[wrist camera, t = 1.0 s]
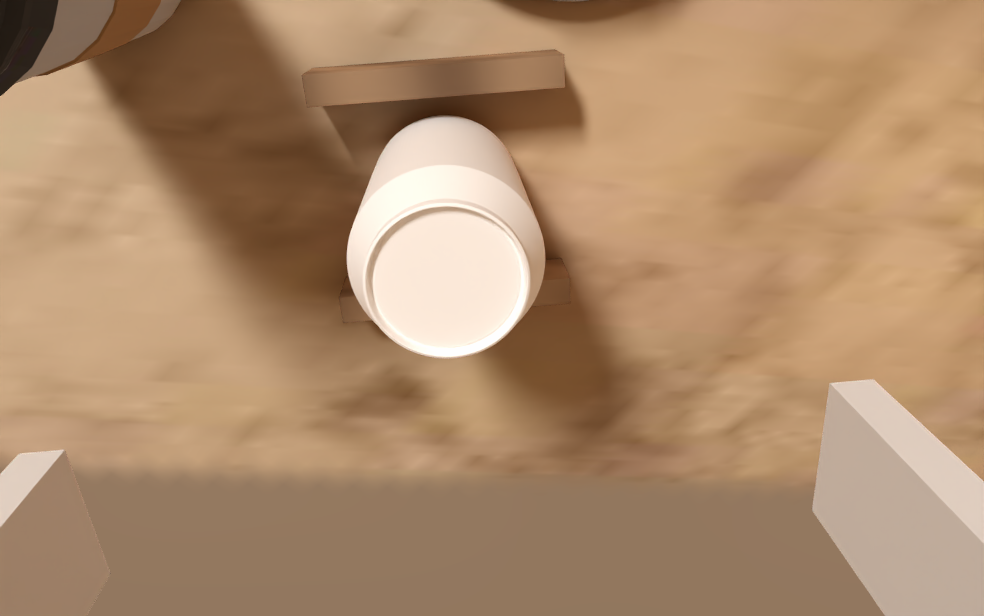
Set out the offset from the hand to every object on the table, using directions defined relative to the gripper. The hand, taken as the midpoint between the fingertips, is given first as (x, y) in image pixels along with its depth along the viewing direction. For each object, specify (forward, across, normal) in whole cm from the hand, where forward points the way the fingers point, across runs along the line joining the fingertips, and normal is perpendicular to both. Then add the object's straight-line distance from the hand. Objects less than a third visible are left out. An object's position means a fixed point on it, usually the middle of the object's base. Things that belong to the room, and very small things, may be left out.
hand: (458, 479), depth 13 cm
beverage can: (+21, 0, 0) cm, 21 cm away
